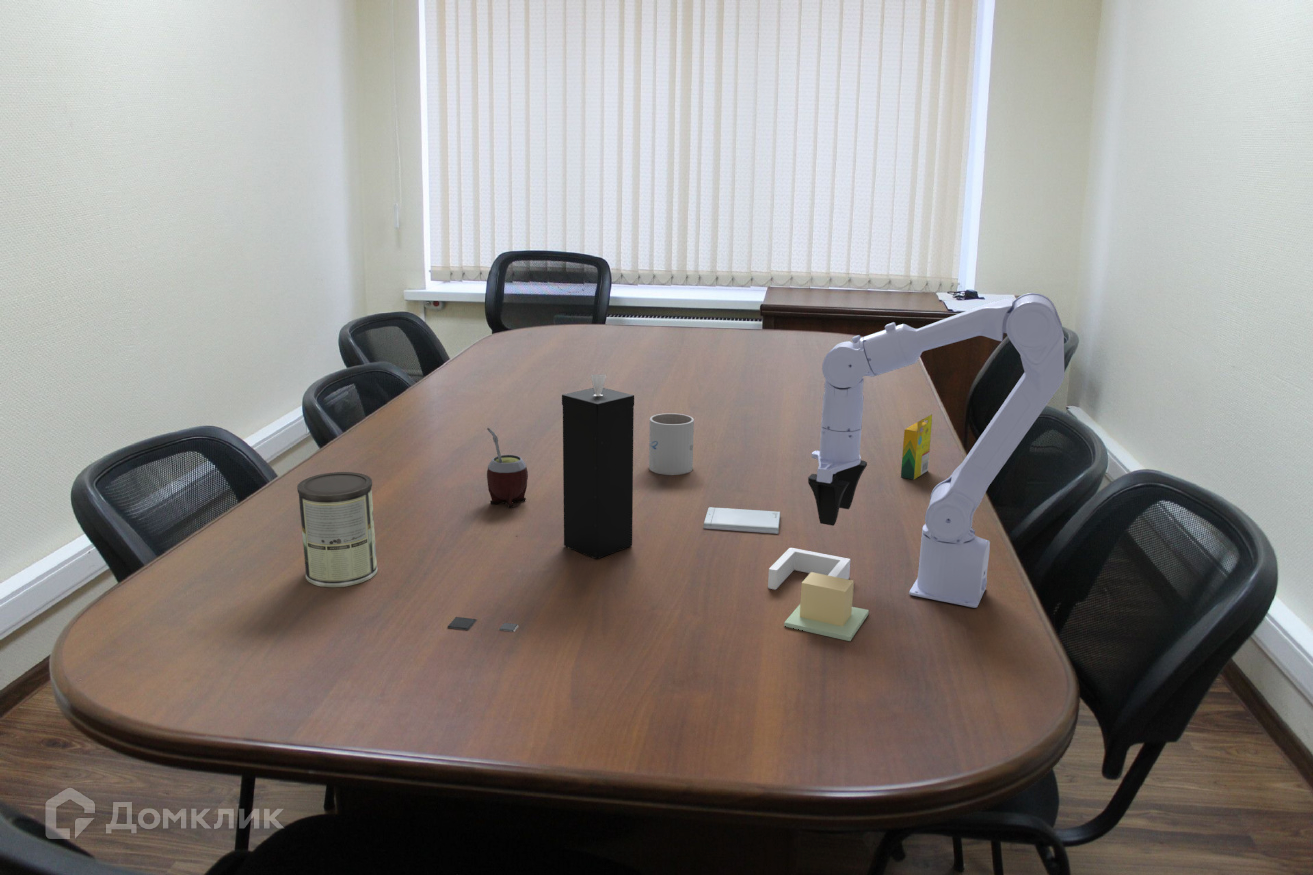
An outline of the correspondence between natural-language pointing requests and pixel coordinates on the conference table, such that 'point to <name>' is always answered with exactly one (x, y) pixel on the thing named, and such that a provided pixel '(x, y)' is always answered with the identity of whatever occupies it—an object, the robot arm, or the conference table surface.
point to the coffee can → (338, 529)
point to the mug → (671, 443)
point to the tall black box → (598, 469)
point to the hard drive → (742, 520)
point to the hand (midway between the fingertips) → (835, 515)
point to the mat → (826, 628)
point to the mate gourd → (506, 477)
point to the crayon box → (916, 449)
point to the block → (826, 598)
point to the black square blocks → (468, 622)
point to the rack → (807, 565)
